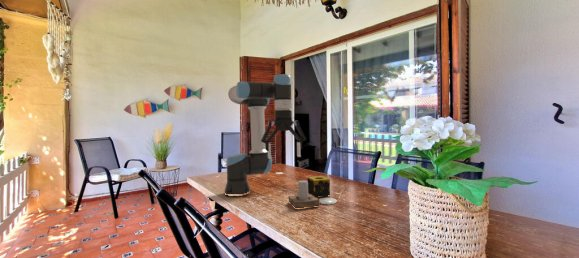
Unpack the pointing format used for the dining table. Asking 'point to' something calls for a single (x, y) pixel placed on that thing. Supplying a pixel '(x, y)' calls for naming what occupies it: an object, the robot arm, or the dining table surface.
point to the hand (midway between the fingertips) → (284, 157)
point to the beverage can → (303, 190)
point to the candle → (318, 186)
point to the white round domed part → (327, 200)
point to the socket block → (304, 201)
